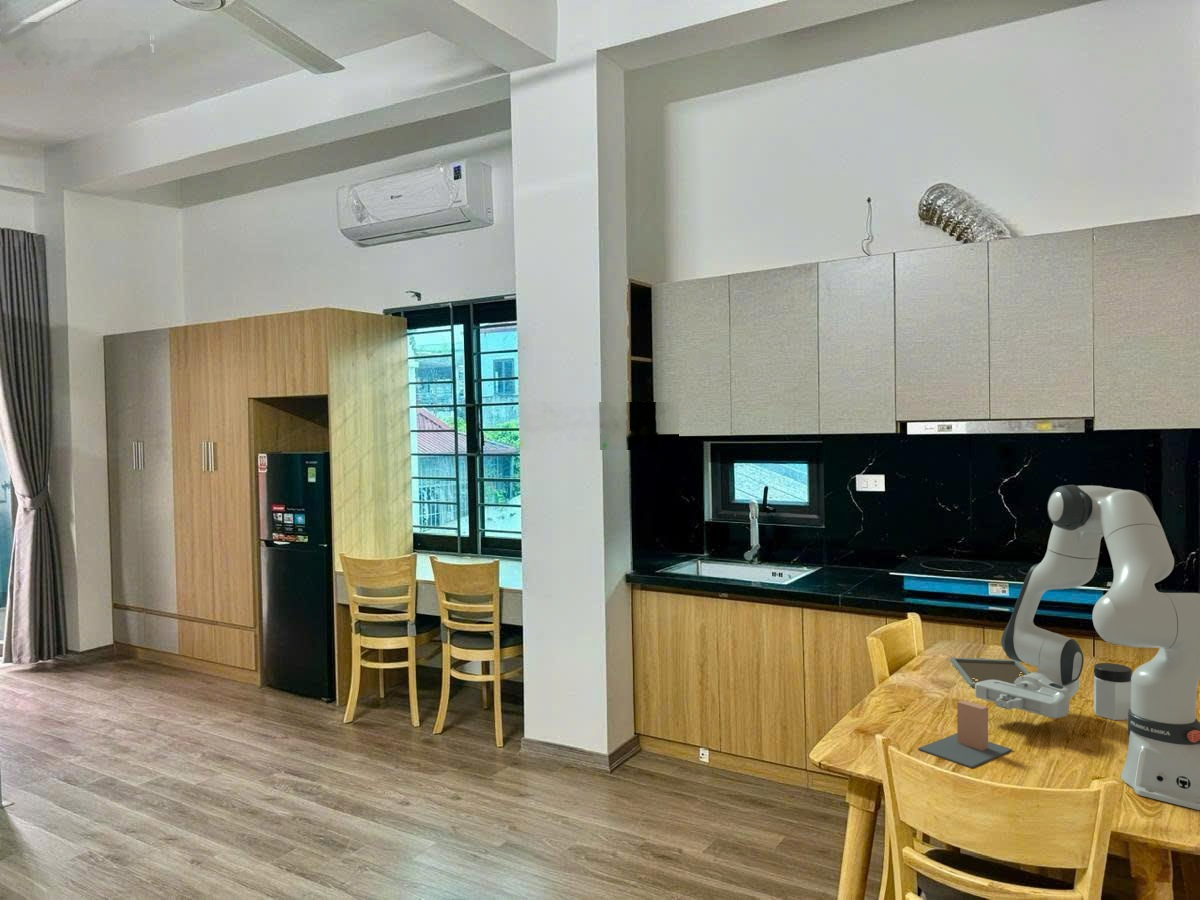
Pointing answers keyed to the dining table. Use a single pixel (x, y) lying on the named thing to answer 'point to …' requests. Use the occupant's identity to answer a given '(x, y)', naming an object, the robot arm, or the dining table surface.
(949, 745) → the mat
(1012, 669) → the grey picture frame
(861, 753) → the dining table surface
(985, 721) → the block
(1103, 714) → the jar
